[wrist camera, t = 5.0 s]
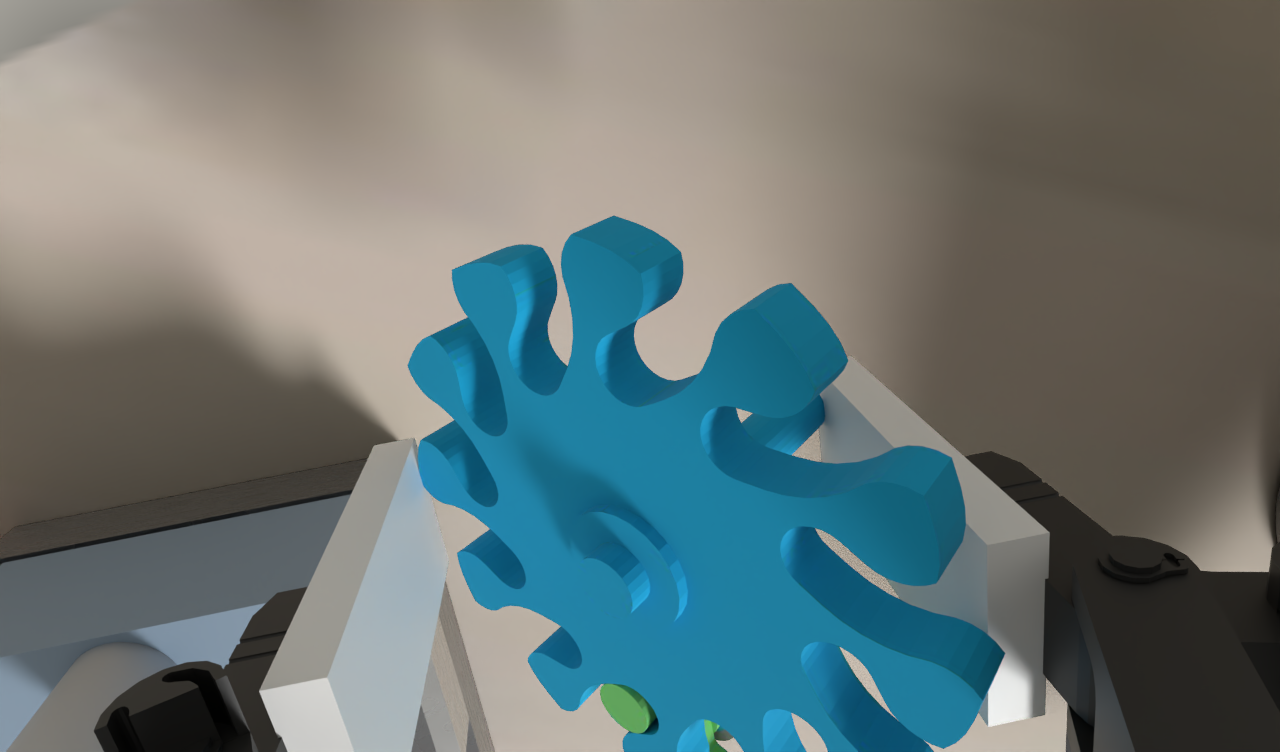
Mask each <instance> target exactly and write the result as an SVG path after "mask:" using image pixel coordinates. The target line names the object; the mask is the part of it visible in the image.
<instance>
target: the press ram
mask: <svg viewBox="0 0 1280 752" xmlns="http://www.w3.org/2000/svg"><path fill="white" fill-rule="evenodd" d="M350 496H351V494H350V495H345V496H340V497H335V498H330V499H325V500H319V501H314V502H309V503H304V504H299V505H294V506H289V507H284V508H279V509H274V510H269V511H264V512H259V513H254V514H249V515H243V516H238V517H233V518H228V519H223V520H218V521H213V522H208V523H203V524H198V525H193V526H188V527H183V528H178V529H173V530H167V531H162V532H157V533H152V534H147V535H142V536H137V537H132V538H127V539H122V540H117V541H112V542H107V543H102V544H97V545H91V546H86V547H81V548H76V549H71V550H66V551H61V552H56V553H51V554H46V555H41V556H36V557H31V558H26V559H21V560H15V561H10V562H5V563H2V564H1V565H0V752H104V751H103V749H102V747H101V745H100V743H99V741H98V739H97V737H96V735H95V733H94V729H95V726H96V724H97V722H98V720H99V717H100V715H101V714H102V713H103V712H104V711H105V710H106V708H107V707H108V706H109V705H110V704H111V703H112V702H113V701H114V700H115V699H116V698H117V697H118V696H119V695H121V694H122V693H124V692H125V691H126V690H128V689H129V688H131V687H132V686H133V685H135V684H136V683H137V682H139V681H141V680H143V679H145V678H147V677H149V676H151V675H153V674H155V673H157V672H159V671H161V670H163V669H166V668H169V667H173V666H176V665H179V664H183V663H186V662H196V661H209V662H213V663H216V664H219V665H221V666H222V668H223V669H224V667H225V665H227V664H229V658H230V656H231V654H232V653H233V651H234V649H235V647H236V645H237V644H240V638H241V636H242V634H243V632H244V631H245V629H246V627H247V625H248V623H249V621H250V620H251V618H252V616H253V615H254V614H255V613H256V612H257V611H258V610H259V609H260V608H262V607H263V606H264V605H265V604H266V603H267V602H268V601H269V600H270V599H271V598H272V597H273V596H274V595H275V594H276V593H278V592H283V591H288V590H293V589H299V588H304V587H308V586H309V583H310V581H311V579H312V577H313V575H314V573H315V571H316V568H317V566H318V564H319V562H320V560H321V558H322V556H323V553H324V551H325V549H326V547H327V545H328V543H329V541H330V539H331V536H332V534H333V532H334V530H335V528H336V526H337V524H338V521H339V519H340V517H341V515H342V513H343V511H344V509H345V507H346V504H347V502H348V500H349V498H350Z"/></svg>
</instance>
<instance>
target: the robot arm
mask: <svg viewBox="0 0 1280 752" xmlns="http://www.w3.org/2000/svg"><path fill="white" fill-rule="evenodd" d="M847 358H848V363H847V365H846V367H845V369H844V371H843V372H842V373H841V374H840V375H839V376H838V377H837V378H836V379H835V380H834V381H833V382H832V383H831V384H830V385H829V386H828V387H827V388H826V389H825V390H824V391H822V392H821V393H820V394H819V395H820V396H821V398H822V399H823V403H824V408H825V420H824V422H823V424H822V425H821V426H820V427H819V437H820V448H821V460H822V462H825V463H836V464H838V463H850V462H859V461H863V460H867V459H870V458H874V457H877V456H880V455H882V454H884V453H886V452H888V451H890V450H892V449H894V448H897V447H902V446H907V445H910V446H924V447H927V448H931V449H935V450H938V451H940V452H942V453H944V454H946V455H948V456H950V457H952V460H953V463H954V466H955V469H956V472H957V476H958V479H959V482H960V485H961V489H962V494H963V499H964V504H965V513H966V528H965V533H964V537H963V542H962V543H961V545H960V547H959V548H958V550H957V551H956V553H955V555H954V556H953V558H952V559H951V561H950V563H949V564H948V566H947V568H946V569H945V571H944V572H943V574H942V576H941V577H940V579H939V580H938V582H937V583H936V584H932V585H928V586H910V585H905V584H900V583H897V582H895V581H892V580H889V579H887V578H886V579H887V580H888V582H889V583H890V585H891V586H892V588H893V589H894V591H895V592H896V594H897V595H898V596H899V598H900V599H901V600H902V601H904V602H906V603H908V604H910V605H913V606H916V607H919V608H922V609H924V610H927V611H930V612H933V613H937V614H942V615H946V616H951V617H955V618H958V619H961V620H963V621H966V622H968V623H971V624H972V625H974V626H976V627H977V628H979V629H981V630H982V631H984V632H985V633H986V634H988V635H989V636H990V637H991V638H992V639H993V640H995V641H996V642H997V644H998V645H999V646H1000V647H1001V648H1002V650H1003V651H1004V652H1005V655H1004V658H1003V660H1002V662H1001V665H1000V667H999V669H998V672H997V674H996V676H995V678H994V680H993V682H992V684H991V687H990V689H989V691H988V693H987V695H986V697H985V699H984V701H983V703H982V706H981V708H980V710H979V712H978V713H979V714H980V716H981V717H982V718H983V720H984V721H985V723H986V724H987V726H988V727H990V726H995V725H999V724H1004V723H1009V722H1014V721H1018V720H1023V719H1028V718H1032V717H1037V716H1042V715H1045V698H1046V678H1047V679H1048V680H1049V681H1050V683H1051V684H1052V685H1053V686H1054V687H1055V689H1056V690H1057V691H1058V692H1059V693H1060V694H1061V696H1062V697H1063V698H1064V699H1065V700H1066V702H1067V703H1068V707H1067V734H1066V752H1280V486H1279V491H1278V497H1277V505H1276V534H1277V541H1278V544H1276V545H1275V546H1274V547H1273V548H1272V553H1271V561H1270V568H1269V572H1208V571H1200V569H1199V568H1198V567H1197V566H1196V565H1195V564H1194V563H1193V562H1192V560H1191V559H1190V558H1189V557H1188V556H1187V555H1185V554H1183V553H1181V552H1179V551H1178V550H1176V549H1174V548H1172V547H1170V546H1168V545H1165V544H1162V543H1159V542H1155V541H1152V540H1149V539H1145V538H1137V537H1128V536H1112V535H1111V534H1109V533H1108V532H1107V531H1106V530H1104V529H1103V528H1102V527H1101V526H1099V525H1098V524H1097V523H1096V522H1094V521H1093V520H1092V519H1091V518H1089V517H1088V516H1087V515H1086V514H1084V513H1083V512H1082V511H1081V510H1079V509H1078V508H1077V507H1076V506H1074V505H1073V504H1072V503H1071V502H1069V501H1068V500H1067V499H1066V498H1064V497H1063V496H1060V497H1059V495H1058V492H1057V491H1056V490H1054V489H1053V488H1052V487H1051V486H1049V485H1048V484H1047V483H1046V482H1045V483H1042V480H1041V478H1039V477H1038V476H1037V475H1036V474H1034V473H1033V472H1032V471H1030V470H1029V469H1028V468H1027V467H1025V466H1024V465H1023V464H1022V463H1020V462H1017V461H1015V460H1012V459H1010V458H1007V457H1004V456H1002V455H999V454H997V453H994V452H992V451H990V452H985V453H980V454H975V455H969V456H963V455H962V454H961V453H960V452H959V451H958V450H956V449H955V448H954V447H953V446H952V445H951V444H950V443H949V442H947V441H946V440H945V439H944V438H943V437H942V436H941V435H940V434H938V433H937V432H936V431H935V430H934V429H933V428H932V427H931V426H929V425H928V424H927V423H926V422H925V421H924V420H923V419H922V418H921V417H919V416H918V415H917V414H916V413H915V412H914V411H913V410H912V409H910V408H909V407H908V406H907V405H906V404H905V403H904V402H903V401H901V400H900V399H899V398H898V397H897V396H896V395H895V394H894V393H892V392H891V391H890V390H889V389H888V388H887V387H886V386H885V385H883V384H882V383H881V382H880V381H879V380H878V379H877V378H876V377H875V376H873V375H872V374H871V373H870V372H869V371H868V370H867V369H866V368H864V367H863V366H862V365H861V364H860V363H859V362H858V361H857V360H855V359H854V358H853V357H852V356H849V357H847ZM448 564H449V559H448V555H447V552H446V548H445V545H444V541H443V537H442V534H441V530H440V527H439V523H438V520H437V516H436V512H435V509H434V505H433V502H432V498H431V495H430V493H429V492H428V491H427V490H426V489H425V488H424V486H423V483H422V480H421V477H420V474H419V467H418V448H417V444H416V441H415V438H411V439H405V440H400V441H395V442H389V443H384V444H379V445H374V447H373V449H372V451H371V453H370V455H369V457H368V460H367V462H366V464H365V466H364V468H363V470H362V472H361V474H360V477H359V479H358V481H357V483H356V485H355V487H354V489H353V492H352V494H351V496H350V498H349V500H348V502H347V504H346V507H345V509H344V511H343V513H342V515H341V517H340V519H339V521H338V524H337V526H336V528H335V530H334V532H333V534H332V536H331V539H330V541H329V543H328V545H327V547H326V549H325V551H324V553H323V556H322V558H321V560H320V562H319V564H318V566H317V568H316V571H315V573H314V575H313V577H312V579H311V581H310V583H309V586H308V587H304V588H299V589H293V590H288V591H283V592H278V593H276V594H275V595H274V596H273V597H272V598H271V599H270V600H269V601H268V602H267V603H266V604H265V605H264V606H263V607H262V608H260V609H259V610H258V611H257V612H256V613H255V614H254V615H253V616H252V618H251V620H250V621H249V623H248V625H247V627H246V629H245V631H244V632H243V634H242V636H241V638H240V644H237V645H236V647H235V649H234V651H233V653H232V654H231V656H230V658H229V664H227V665H225V667H224V669H223V668H222V666H221V665H219V664H216V663H213V662H209V661H196V662H186V663H183V664H179V665H176V666H173V667H169V668H166V669H163V670H161V671H159V672H157V673H155V674H153V675H151V676H149V677H147V678H145V679H143V680H141V681H139V682H137V683H136V684H135V685H133V686H132V687H131V688H129V689H128V690H126V691H125V692H124V693H122V694H121V695H119V696H118V697H117V698H116V699H115V700H114V701H113V702H112V703H111V704H110V705H109V706H108V707H107V708H106V710H105V711H104V712H103V713H102V714H101V715H100V717H99V720H98V722H97V724H96V726H95V729H94V733H95V735H96V737H97V739H98V741H99V743H100V745H101V747H102V749H103V751H104V752H411V751H412V746H413V741H414V736H415V731H416V726H417V721H418V716H419V711H420V706H421V700H422V695H423V690H424V685H425V680H426V675H427V670H428V665H429V660H430V655H431V650H432V645H433V640H434V635H435V630H436V625H437V620H438V615H439V610H440V605H441V600H442V594H443V589H444V584H445V579H446V574H447V569H448Z"/></svg>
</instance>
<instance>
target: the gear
mask: <svg viewBox="0 0 1280 752" xmlns="http://www.w3.org/2000/svg"><path fill="white" fill-rule="evenodd" d="M561 268H562V276H563V280H564V283H565V286H566V290H567V293H568V297H569V301H570V307H571V313H572V320H573V343H572V352H571V357H570V360H569V364H568V366H567V365H565V364H564V363H563V362H562V361H561V360H560V359H559V357H558V356H557V355H556V353H555V351H554V350H553V348H552V346H551V343H550V340H549V336H548V320H549V317H550V314H551V311H552V309H553V306H554V303H555V300H556V296H557V280H556V274H555V271H554V268H553V265H552V263H551V261H550V259H549V257H548V255H547V254H546V252H545V251H544V249H543V248H541V247H538V246H534V245H515V246H510V247H506V248H504V249H501V250H498V251H496V252H493V253H491V254H488V255H486V256H484V257H481V258H479V259H477V260H474V261H472V262H470V263H467V264H465V265H462V266H460V267H458V268H455V269H453V270H452V281H453V286H454V291H455V293H456V296H457V299H458V301H459V303H460V305H461V307H462V309H463V311H464V312H465V314H466V315H467V316H468V318H466V319H464V320H462V321H459V322H457V323H455V324H453V325H451V326H449V327H447V328H445V329H443V330H441V331H439V332H437V333H435V334H433V335H431V336H428V337H426V338H424V339H423V340H422V341H421V342H420V343H419V344H418V345H417V346H416V348H415V350H414V351H413V353H412V356H411V358H410V361H409V363H408V368H409V370H410V373H411V375H412V377H413V379H414V380H415V382H416V384H417V385H418V386H419V388H420V389H421V390H422V392H423V393H424V394H425V395H426V396H427V397H428V398H430V399H431V400H433V401H434V402H435V403H437V404H438V405H439V406H441V407H442V408H443V409H444V410H445V411H446V412H447V413H448V414H449V415H450V416H452V418H453V419H454V421H452V422H451V423H449V424H447V425H446V426H444V427H442V428H441V429H439V430H437V431H435V432H434V433H432V434H430V435H429V436H427V437H425V438H424V439H422V440H421V441H420V444H419V447H418V467H419V474H420V477H421V480H422V483H423V486H424V488H425V489H426V490H427V491H428V492H429V493H430V494H431V495H432V496H433V497H434V498H436V499H437V500H438V501H440V502H442V503H445V504H449V505H454V506H456V507H458V508H461V509H463V510H465V511H467V512H468V513H470V514H472V515H473V516H475V517H476V518H477V519H479V520H480V521H481V522H483V523H484V524H485V525H486V526H487V527H489V528H490V530H488V531H487V532H485V533H484V534H483V535H481V536H480V537H479V538H477V539H476V540H475V541H473V542H472V543H470V544H469V545H468V546H466V547H465V548H464V549H462V550H461V551H460V552H458V553H457V554H458V559H459V564H460V567H461V570H462V573H463V575H464V578H465V580H466V582H467V585H468V587H469V589H470V591H471V593H472V595H473V597H474V599H475V601H476V602H478V603H479V604H480V605H482V606H483V607H485V608H487V609H490V610H498V609H500V608H502V607H505V606H510V605H511V606H520V607H524V608H527V609H530V610H532V611H534V612H537V613H539V614H541V615H543V616H544V617H546V618H548V619H550V620H552V621H553V622H555V623H557V624H558V625H560V626H561V627H560V628H559V629H558V630H557V631H555V632H554V633H553V634H552V635H551V636H550V637H549V638H548V639H547V640H546V641H545V642H543V643H542V644H541V645H540V646H539V647H538V648H537V649H536V650H535V651H534V652H533V653H532V654H530V656H529V657H528V663H529V664H530V666H531V668H532V670H533V672H534V673H535V675H536V676H537V678H538V679H539V681H540V682H541V684H542V685H543V686H544V688H545V689H546V690H547V692H548V693H549V694H550V695H551V697H552V698H553V699H554V700H555V701H556V703H557V704H558V705H559V706H560V708H561V709H564V710H567V711H574V710H577V709H578V708H579V707H580V706H581V705H582V703H583V702H584V701H585V700H586V699H587V698H588V697H589V696H590V695H591V694H592V693H593V692H594V691H595V690H596V689H597V688H598V687H599V686H600V685H601V684H604V685H603V686H602V687H601V690H600V695H601V700H602V702H603V704H604V706H605V708H606V710H607V711H608V713H609V714H610V715H611V717H612V718H613V719H614V720H615V721H616V722H617V723H618V724H620V725H621V726H622V727H623V728H625V729H627V730H629V732H628V733H627V734H626V736H625V737H624V738H623V749H624V752H727V751H726V750H725V749H724V748H722V747H721V746H720V745H719V744H718V743H717V742H716V740H720V741H726V740H730V739H732V738H733V737H734V738H735V739H736V741H737V742H738V743H739V745H740V746H741V748H742V750H743V751H744V752H806V750H805V748H804V747H803V745H802V743H801V741H800V738H799V736H798V734H797V732H796V729H795V726H794V722H793V719H792V715H791V712H792V713H794V714H795V715H797V716H799V717H801V718H802V719H804V720H805V721H806V722H808V723H809V724H810V725H811V726H812V727H813V728H814V729H815V730H816V731H817V732H818V734H819V735H820V736H821V738H822V739H823V741H824V743H825V744H826V747H827V750H828V752H934V751H933V750H932V749H931V748H930V746H929V745H928V744H927V743H926V742H928V743H930V744H932V745H935V746H938V747H940V748H943V749H944V748H946V747H948V746H950V745H952V744H955V743H956V742H957V741H959V740H960V739H961V738H962V737H963V736H964V735H965V734H966V733H967V731H968V730H969V728H970V727H971V725H972V724H973V722H974V720H975V718H976V716H977V714H978V712H979V710H980V708H981V706H982V703H983V701H984V699H985V697H986V695H987V693H988V691H989V689H990V687H991V684H992V682H993V680H994V678H995V676H996V674H997V672H998V669H999V667H1000V665H1001V662H1002V660H1003V658H1004V655H1005V652H1004V651H1003V650H1002V648H1001V647H1000V646H999V645H998V644H997V642H996V641H995V640H993V639H992V638H991V637H990V636H989V635H988V634H986V633H985V632H984V631H982V630H981V629H979V628H977V627H976V626H974V625H972V624H971V623H968V622H966V621H963V620H961V619H958V618H955V617H951V616H946V615H942V614H937V613H933V612H930V611H927V610H924V609H922V608H919V607H916V606H913V605H910V604H908V603H906V602H904V601H902V600H900V599H898V598H896V597H894V596H892V595H890V594H888V593H886V592H885V591H883V590H882V589H880V588H879V587H877V586H875V585H874V584H872V583H871V582H869V581H868V580H867V579H865V578H864V577H863V576H862V575H860V574H859V573H858V572H857V571H855V570H854V569H853V568H852V567H850V566H849V565H848V564H847V563H846V562H845V561H844V560H843V559H841V558H840V557H839V556H838V555H837V554H836V553H835V552H834V551H832V550H831V549H830V548H829V547H828V546H827V545H826V544H825V543H824V542H823V541H822V540H821V538H820V537H819V535H818V534H817V532H816V530H815V528H816V529H820V530H822V531H824V532H826V533H828V534H830V535H832V536H833V537H834V538H836V539H837V540H838V541H840V542H841V543H842V544H843V545H844V546H845V547H847V548H848V549H849V550H850V551H851V552H852V553H853V554H854V555H856V556H857V557H858V558H859V559H860V560H861V561H862V562H864V563H865V564H866V565H867V566H868V567H870V568H871V569H872V570H874V571H875V572H876V573H878V574H880V575H882V576H884V577H885V578H887V579H889V580H892V581H895V582H897V583H900V584H905V585H910V586H928V585H932V584H936V583H937V582H938V580H939V579H940V577H941V576H942V574H943V572H944V571H945V569H946V568H947V566H948V564H949V563H950V561H951V559H952V558H953V556H954V555H955V553H956V551H957V550H958V548H959V547H960V545H961V543H962V542H963V537H964V533H965V528H966V513H965V504H964V499H963V494H962V489H961V485H960V482H959V479H958V476H957V472H956V469H955V466H954V463H953V460H952V457H950V456H948V455H946V454H944V453H942V452H940V451H938V450H935V449H931V448H927V447H924V446H910V445H907V446H902V447H897V448H894V449H892V450H890V451H888V452H886V453H884V454H882V455H880V456H877V457H874V458H870V459H867V460H863V461H859V462H850V463H838V464H836V463H825V462H815V461H811V460H807V459H803V458H799V457H795V456H792V454H793V453H794V452H795V451H796V450H797V449H798V448H799V447H800V446H801V445H802V444H803V443H804V442H805V441H806V440H807V439H808V438H809V437H810V436H811V435H812V434H813V433H814V432H815V431H816V430H817V429H818V428H819V427H820V426H821V425H822V424H823V422H824V420H825V408H824V403H823V399H822V398H821V396H820V395H819V394H820V393H821V392H822V391H824V390H825V389H826V388H827V387H828V386H829V385H830V384H831V383H832V382H833V381H834V380H835V379H836V378H837V377H838V376H839V375H840V374H841V373H842V372H843V371H844V369H845V367H846V365H847V363H848V358H847V356H846V354H845V352H844V349H843V347H842V345H841V342H840V341H839V339H838V338H837V336H836V335H835V333H834V331H833V330H832V328H831V327H830V325H829V324H828V323H827V321H826V320H825V319H824V318H823V317H822V315H821V314H820V313H819V312H818V311H817V309H816V308H815V307H814V306H813V305H812V304H811V303H810V302H809V301H808V300H807V299H806V298H805V297H804V296H803V295H802V294H801V293H800V292H799V291H798V290H797V289H796V288H795V286H794V285H793V284H792V283H788V284H779V285H776V286H774V287H772V288H769V289H767V290H766V291H764V292H763V293H761V294H760V295H758V296H757V297H756V298H754V299H753V300H751V301H750V302H748V303H747V304H745V305H744V306H742V307H741V308H739V309H738V310H736V311H735V312H733V313H732V314H730V315H729V316H728V317H727V318H726V319H725V320H724V321H722V322H721V324H720V326H719V327H718V329H717V331H716V333H715V336H714V340H713V344H712V348H711V352H710V354H709V356H708V358H707V360H706V362H705V364H704V366H703V369H702V370H701V371H700V373H699V374H697V375H694V376H691V377H688V378H685V379H682V380H677V381H672V380H666V379H664V378H661V377H659V376H658V375H656V374H655V373H653V372H652V371H651V370H650V369H649V368H648V367H647V366H646V365H645V363H644V362H643V361H642V359H641V358H640V356H639V354H638V352H637V349H636V346H635V341H634V328H635V325H636V322H637V320H638V319H640V318H641V317H643V316H645V315H646V314H648V313H650V312H651V311H653V310H655V309H656V308H658V307H660V306H661V305H663V304H665V303H666V302H668V301H669V300H671V299H672V298H673V297H674V296H675V295H676V293H677V292H678V290H679V288H680V286H681V283H682V278H683V260H682V255H681V252H680V251H679V250H678V249H677V248H676V247H675V246H674V245H673V244H671V243H670V242H669V241H668V240H667V239H665V238H664V237H662V236H660V235H659V234H657V233H656V232H654V231H652V230H650V229H648V228H646V227H643V226H641V225H639V224H637V223H634V222H631V221H628V220H625V219H622V218H619V217H616V216H612V217H609V218H607V219H605V220H603V221H600V222H598V223H596V224H594V225H591V226H589V227H587V228H585V229H582V230H580V231H578V232H576V233H573V234H571V235H570V237H569V238H568V240H567V241H566V242H565V245H564V248H563V251H562V259H561ZM736 408H738V409H742V410H745V411H748V412H752V413H753V414H752V415H750V416H749V417H748V418H747V419H746V420H745V421H743V422H742V423H741V422H740V420H739V418H738V414H737V410H736ZM839 647H841V648H843V649H845V650H846V651H848V652H850V653H851V654H852V655H854V656H855V657H856V658H857V659H858V660H860V661H861V663H862V664H863V665H864V666H865V667H866V668H867V670H868V671H869V673H870V674H871V676H872V678H873V680H874V682H875V684H876V686H877V688H878V690H879V691H880V693H881V695H882V697H883V699H884V701H885V703H886V705H887V706H888V708H889V709H890V711H891V712H892V714H893V715H894V716H895V717H896V718H897V719H895V718H894V717H893V716H892V715H891V714H890V713H889V712H887V711H886V710H885V709H884V708H883V707H882V706H881V705H880V704H879V703H878V702H877V701H876V700H875V699H874V698H873V697H872V696H871V694H870V693H869V692H868V691H867V690H866V689H865V687H864V686H863V685H862V683H861V682H860V681H859V680H858V678H857V677H856V676H855V674H854V672H853V671H852V669H851V667H850V666H849V664H848V662H847V661H846V659H845V657H844V655H843V653H842V651H841V650H840V648H839ZM924 740H925V741H926V742H925V741H924Z"/></svg>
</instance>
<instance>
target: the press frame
mask: <svg viewBox="0 0 1280 752" xmlns="http://www.w3.org/2000/svg"><path fill="white" fill-rule="evenodd" d="M367 460H368V458H367V459H362V460H357V461H352V462H347V463H341V464H336V465H331V466H326V467H321V468H316V469H311V470H305V471H300V472H295V473H290V474H285V475H280V476H275V477H270V478H264V479H259V480H254V481H249V482H244V483H239V484H234V485H228V486H223V487H218V488H213V489H208V490H203V491H198V492H193V493H187V494H182V495H177V496H172V497H167V498H162V499H157V500H151V501H146V502H141V503H136V504H131V505H126V506H121V507H115V508H110V509H105V510H100V511H95V512H90V513H85V514H80V515H74V516H69V517H64V518H59V519H54V520H49V521H44V522H38V523H33V524H28V525H23V526H18V527H14V528H12V529H11V530H10V531H9V532H8V533H7V534H6V535H5V536H3V537H2V538H1V539H0V565H1V564H2V563H5V562H10V561H15V560H21V559H26V558H31V557H36V556H41V555H46V554H51V553H56V552H61V551H66V550H71V549H76V548H81V547H86V546H91V545H97V544H102V543H107V542H112V541H117V540H122V539H127V538H132V537H137V536H142V535H147V534H152V533H157V532H162V531H167V530H173V529H178V528H183V527H188V526H193V525H198V524H203V523H208V522H213V521H218V520H223V519H228V518H233V517H238V516H243V515H249V514H254V513H259V512H264V511H269V510H274V509H279V508H284V507H289V506H294V505H299V504H304V503H309V502H314V501H319V500H325V499H330V498H335V497H340V496H345V495H350V494H352V492H353V489H354V487H355V485H356V483H357V481H358V479H359V477H360V474H361V472H362V470H363V468H364V466H365V464H366V462H367ZM411 752H495V751H494V747H493V744H492V740H491V737H490V733H489V730H488V726H487V723H486V719H485V716H484V713H483V709H482V706H481V702H480V699H479V695H478V692H477V688H476V685H475V681H474V678H473V675H472V671H471V668H470V664H469V661H468V657H467V654H466V650H465V647H464V643H463V640H462V637H461V633H460V630H459V626H458V623H457V619H456V616H455V612H454V609H453V606H452V602H451V599H450V595H449V592H448V588H447V585H446V581H445V584H444V589H443V594H442V600H441V605H440V610H439V615H438V620H437V625H436V630H435V635H434V640H433V645H432V650H431V655H430V660H429V665H428V670H427V675H426V680H425V685H424V690H423V695H422V700H421V706H420V711H419V716H418V721H417V726H416V731H415V736H414V741H413V746H412V751H411Z"/></svg>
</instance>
